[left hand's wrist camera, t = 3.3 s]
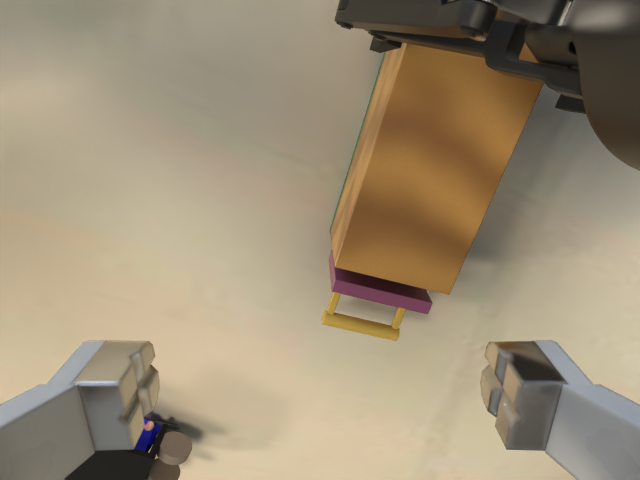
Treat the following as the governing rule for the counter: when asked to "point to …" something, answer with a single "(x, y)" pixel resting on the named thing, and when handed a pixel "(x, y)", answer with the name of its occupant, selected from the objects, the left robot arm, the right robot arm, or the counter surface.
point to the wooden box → (427, 164)
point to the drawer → (376, 292)
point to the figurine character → (140, 457)
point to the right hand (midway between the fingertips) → (477, 60)
